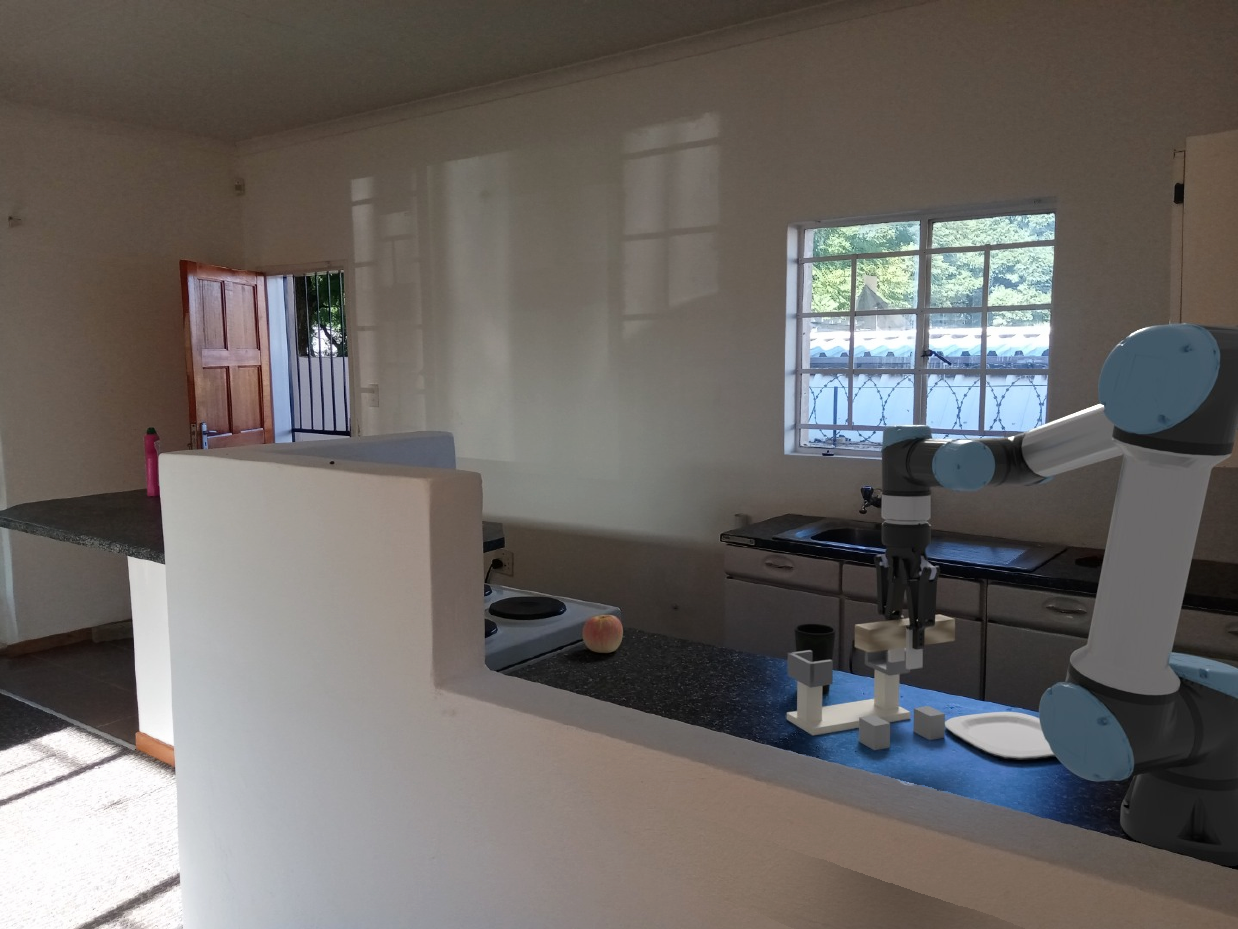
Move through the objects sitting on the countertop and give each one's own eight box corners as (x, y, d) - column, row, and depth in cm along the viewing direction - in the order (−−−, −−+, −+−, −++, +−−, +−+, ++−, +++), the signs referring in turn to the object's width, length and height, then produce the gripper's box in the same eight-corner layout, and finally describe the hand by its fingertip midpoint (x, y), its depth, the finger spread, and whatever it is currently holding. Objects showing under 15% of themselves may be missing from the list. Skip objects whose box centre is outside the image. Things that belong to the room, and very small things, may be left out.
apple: (617, 658, 194) (617, 621, 193) (578, 655, 196) (577, 619, 195) (627, 647, 202) (626, 611, 201) (588, 644, 204) (588, 609, 203)
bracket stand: (911, 718, 157) (913, 651, 156) (811, 735, 149) (812, 665, 148) (882, 703, 164) (883, 639, 163) (785, 719, 157) (785, 652, 156)
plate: (1002, 771, 136) (1002, 760, 136) (930, 728, 154) (931, 718, 153) (1100, 757, 141) (1101, 747, 141) (1020, 717, 158) (1021, 708, 158)
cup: (835, 698, 167) (836, 635, 166) (793, 696, 169) (794, 633, 168) (834, 685, 175) (834, 624, 174) (794, 682, 176) (794, 622, 176)
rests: (944, 737, 148) (945, 713, 148) (874, 750, 143) (874, 726, 143) (927, 729, 152) (928, 706, 152) (858, 741, 147) (859, 717, 147)
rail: (939, 635, 151) (939, 614, 151) (954, 640, 147) (955, 619, 147) (854, 646, 145) (854, 624, 144) (868, 652, 141) (868, 629, 141)
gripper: (962, 525, 138) (960, 675, 140) (891, 514, 154) (890, 649, 155) (922, 528, 136) (921, 681, 137) (854, 516, 151) (854, 654, 153)
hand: (905, 664), depth 146 cm, fingers closed on rail, 4 cm apart
